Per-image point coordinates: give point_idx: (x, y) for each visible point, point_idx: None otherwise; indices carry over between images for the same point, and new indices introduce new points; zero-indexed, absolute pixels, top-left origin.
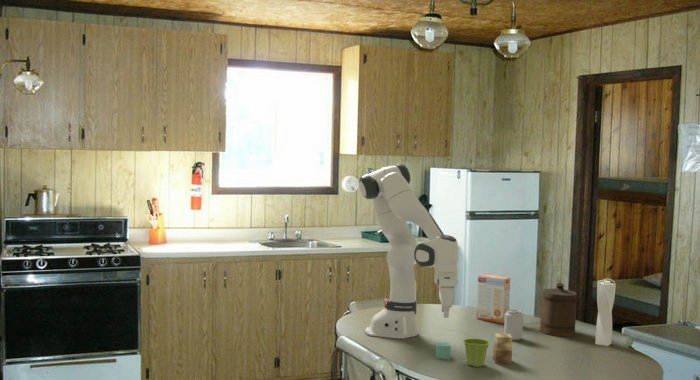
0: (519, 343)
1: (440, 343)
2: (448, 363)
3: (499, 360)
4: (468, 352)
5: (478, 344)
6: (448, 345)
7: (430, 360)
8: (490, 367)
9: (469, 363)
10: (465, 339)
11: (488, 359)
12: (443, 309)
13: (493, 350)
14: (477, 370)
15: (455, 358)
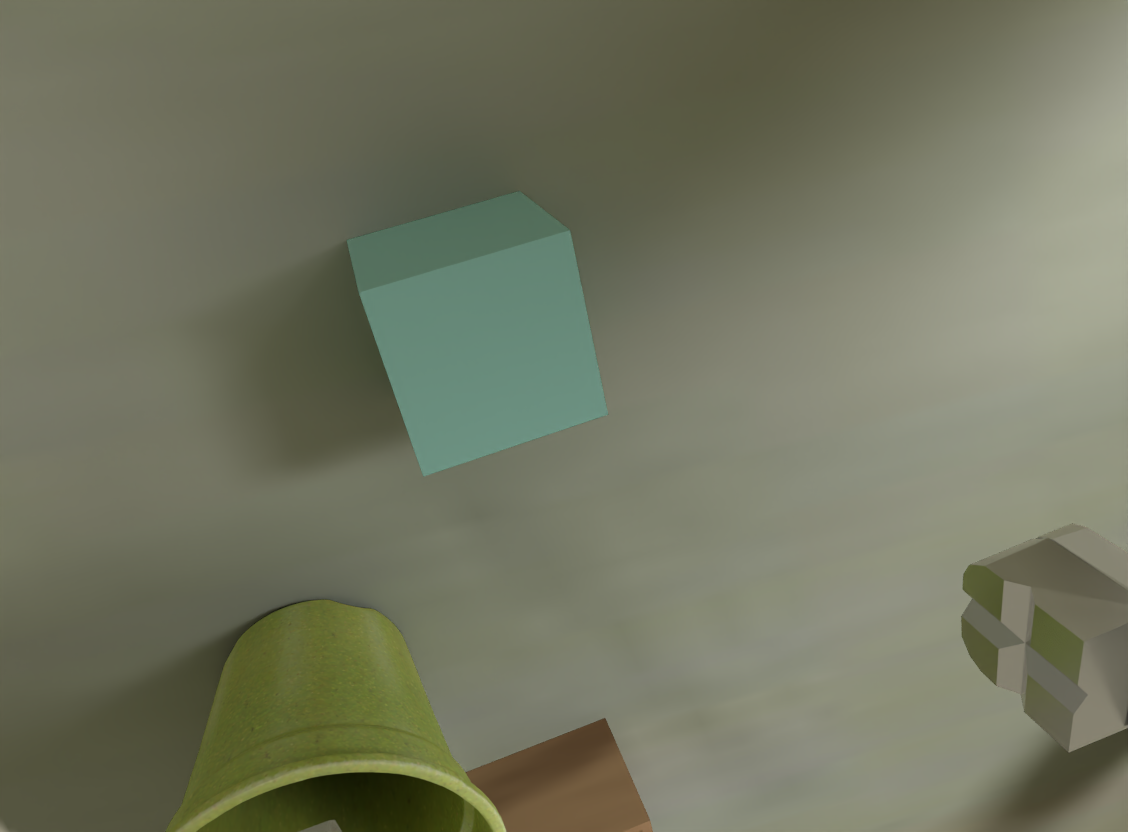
0: None
1: (523, 306)
2: (198, 424)
3: None
4: (209, 744)
5: (463, 810)
6: (458, 438)
7: (202, 175)
8: None
9: (231, 655)
10: (373, 770)
11: (564, 699)
12: (1031, 642)
13: (623, 787)
14: (107, 739)
15: None
